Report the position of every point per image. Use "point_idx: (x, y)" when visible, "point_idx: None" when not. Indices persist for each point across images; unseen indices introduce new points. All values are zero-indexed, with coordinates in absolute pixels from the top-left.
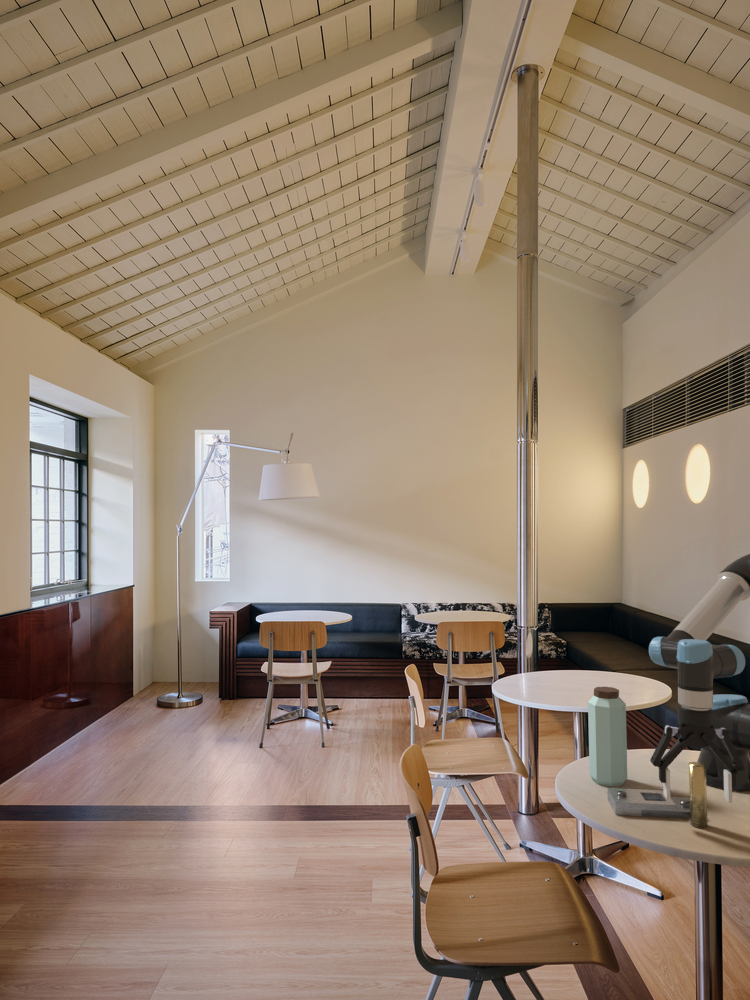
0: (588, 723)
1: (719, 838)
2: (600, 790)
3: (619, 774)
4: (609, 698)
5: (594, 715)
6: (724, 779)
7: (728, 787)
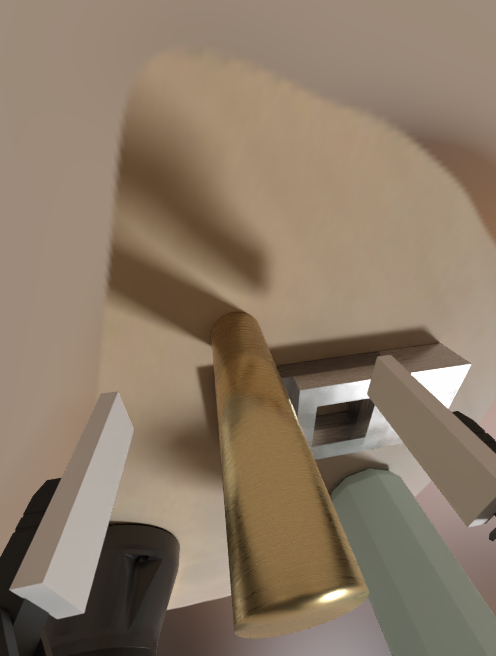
0: None
1: (191, 247)
2: (400, 447)
3: (367, 500)
4: None
5: None
6: (102, 523)
7: (90, 460)
